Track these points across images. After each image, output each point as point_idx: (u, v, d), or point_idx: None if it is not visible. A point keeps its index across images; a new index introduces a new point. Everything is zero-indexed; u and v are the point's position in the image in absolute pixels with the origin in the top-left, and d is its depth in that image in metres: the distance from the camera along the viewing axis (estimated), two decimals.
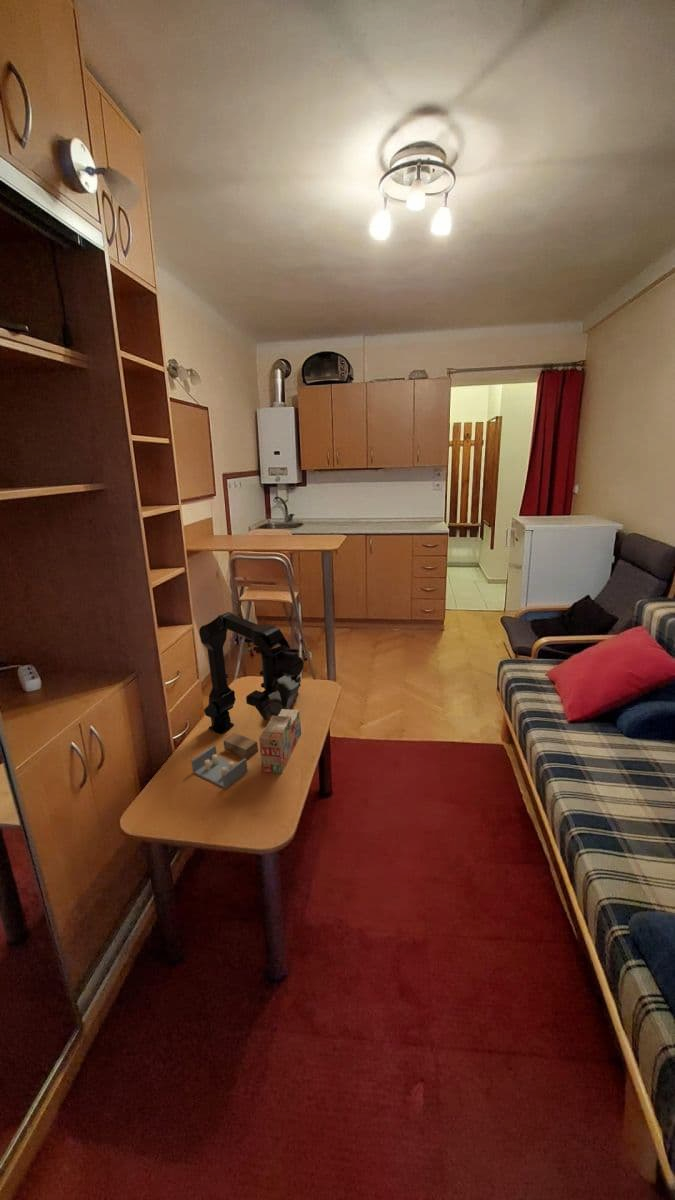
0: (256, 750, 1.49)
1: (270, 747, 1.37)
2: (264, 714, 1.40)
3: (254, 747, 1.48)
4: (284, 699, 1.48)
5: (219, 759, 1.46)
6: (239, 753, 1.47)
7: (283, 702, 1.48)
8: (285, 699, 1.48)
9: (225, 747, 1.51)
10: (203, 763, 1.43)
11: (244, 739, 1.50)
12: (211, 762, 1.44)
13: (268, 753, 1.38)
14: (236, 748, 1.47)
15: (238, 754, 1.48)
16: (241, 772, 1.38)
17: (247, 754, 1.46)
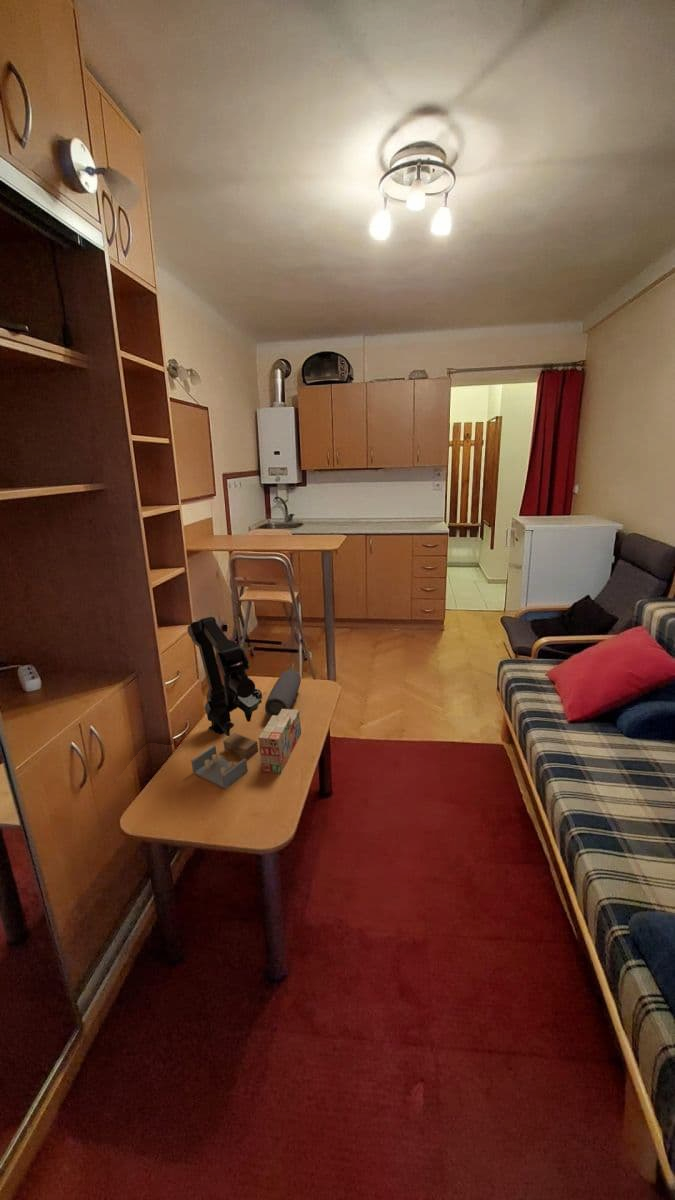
0: (256, 750, 1.49)
1: (269, 747, 1.37)
2: (226, 730, 1.43)
3: (254, 747, 1.48)
4: (248, 714, 1.51)
5: (219, 759, 1.46)
6: (239, 753, 1.47)
7: (247, 717, 1.51)
8: (248, 714, 1.51)
9: (225, 747, 1.50)
10: (203, 763, 1.43)
11: (244, 739, 1.50)
12: (211, 762, 1.44)
13: (267, 753, 1.38)
14: (236, 748, 1.47)
15: (238, 754, 1.48)
16: (241, 772, 1.38)
17: (247, 754, 1.46)
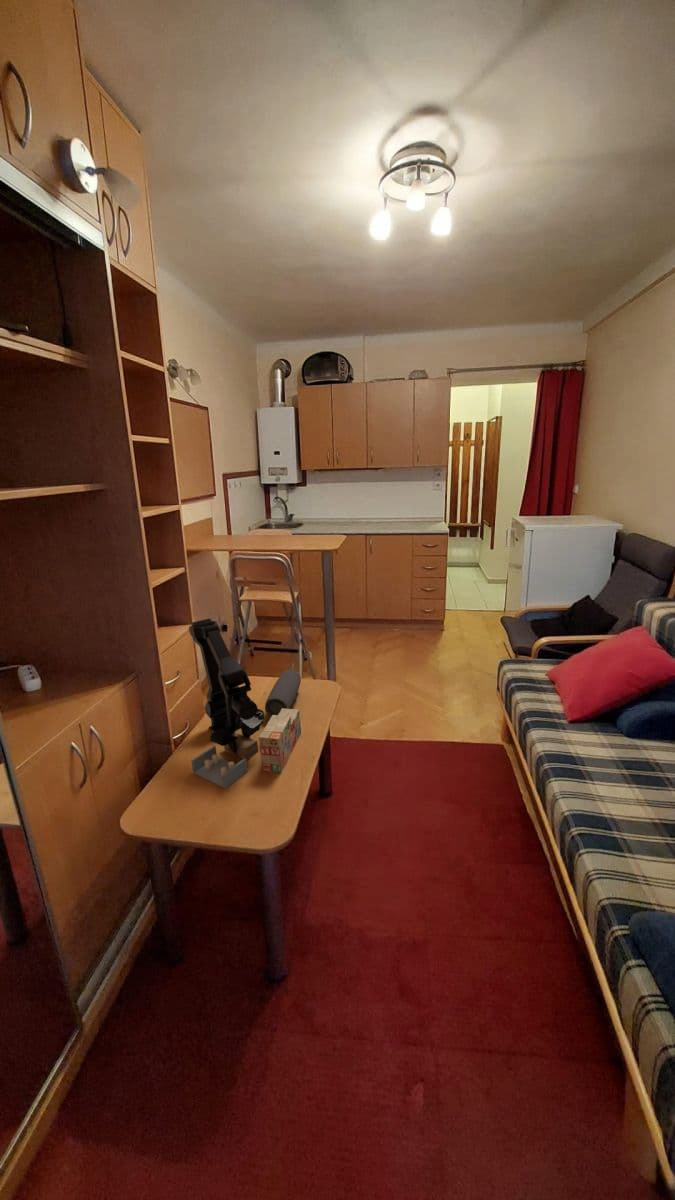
0: (256, 749, 1.49)
1: (270, 747, 1.37)
2: (233, 747, 1.46)
3: (254, 746, 1.48)
4: None
5: (219, 759, 1.46)
6: (239, 752, 1.47)
7: None
8: None
9: (225, 746, 1.50)
10: (203, 763, 1.43)
11: (244, 739, 1.50)
12: (211, 762, 1.44)
13: (268, 752, 1.38)
14: None
15: (238, 753, 1.48)
16: (241, 772, 1.38)
17: (247, 753, 1.46)
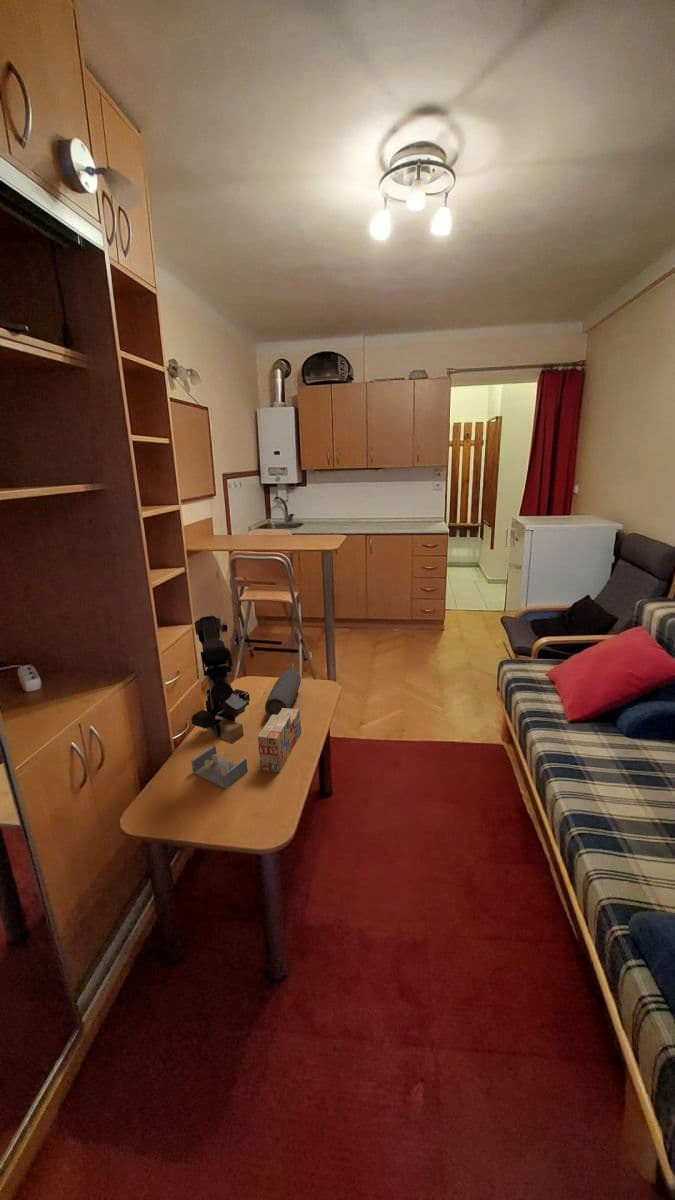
0: (242, 733, 1.40)
1: (268, 746, 1.37)
2: (216, 731, 1.37)
3: (239, 730, 1.38)
4: (231, 720, 1.42)
5: (219, 759, 1.46)
6: (223, 737, 1.38)
7: None
8: None
9: (208, 731, 1.41)
10: (203, 763, 1.43)
11: (229, 722, 1.41)
12: (211, 762, 1.44)
13: (266, 752, 1.38)
14: None
15: (222, 738, 1.38)
16: (241, 772, 1.38)
17: (231, 737, 1.36)
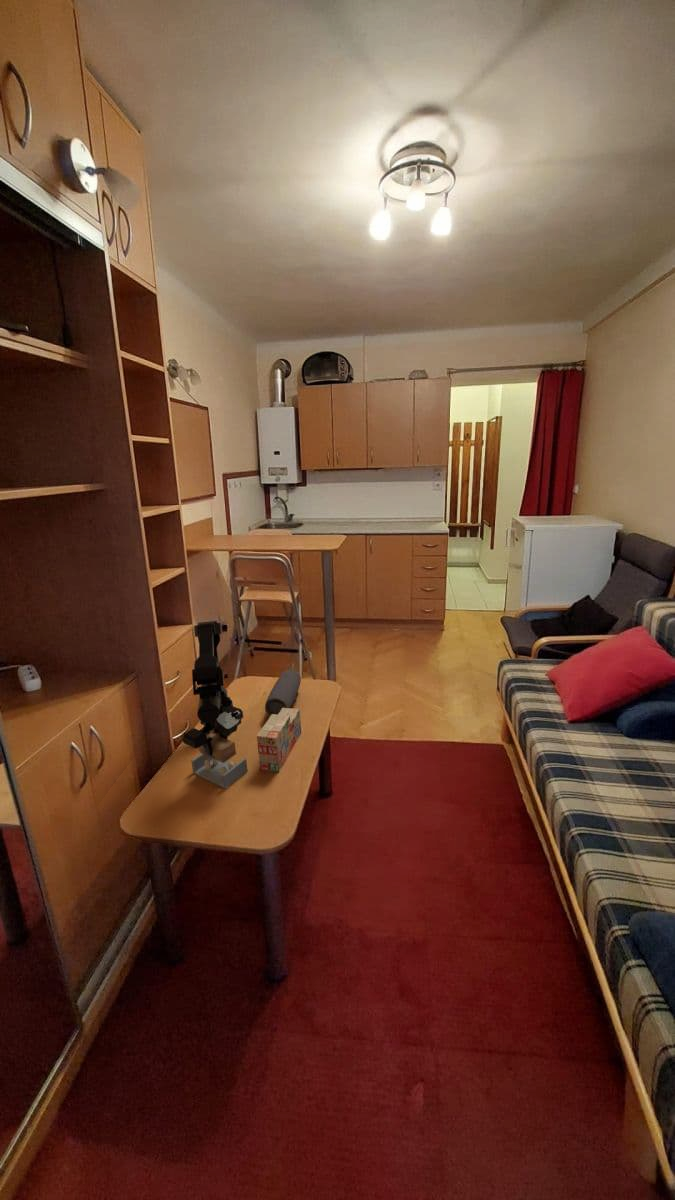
0: (234, 751, 1.38)
1: (267, 746, 1.38)
2: (208, 749, 1.35)
3: (231, 748, 1.36)
4: None
5: None
6: (215, 755, 1.35)
7: None
8: None
9: (200, 748, 1.39)
10: (203, 763, 1.43)
11: (221, 740, 1.38)
12: (211, 762, 1.44)
13: (265, 751, 1.39)
14: None
15: (214, 756, 1.36)
16: (241, 772, 1.38)
17: (223, 756, 1.34)
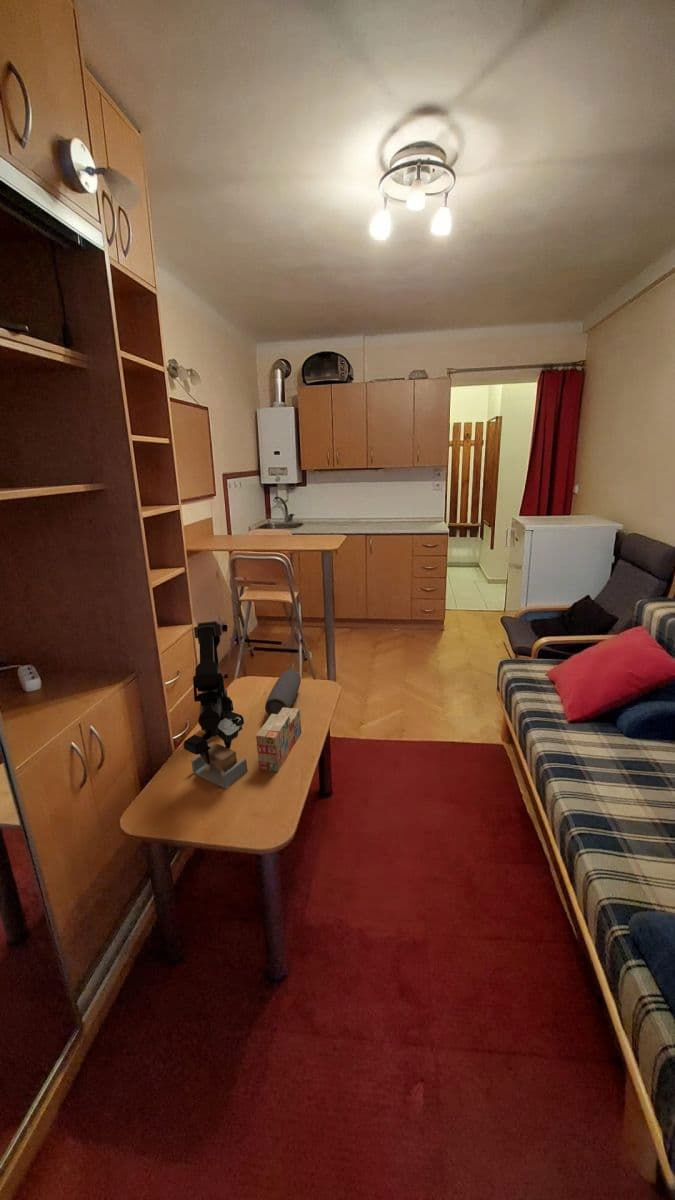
0: (235, 760, 1.38)
1: (266, 745, 1.38)
2: (205, 758, 1.34)
3: (232, 757, 1.37)
4: None
5: None
6: (216, 764, 1.36)
7: (226, 745, 1.42)
8: None
9: None
10: (203, 763, 1.43)
11: (222, 749, 1.39)
12: None
13: (265, 751, 1.39)
14: (212, 758, 1.37)
15: (215, 765, 1.37)
16: (241, 772, 1.38)
17: (224, 765, 1.35)
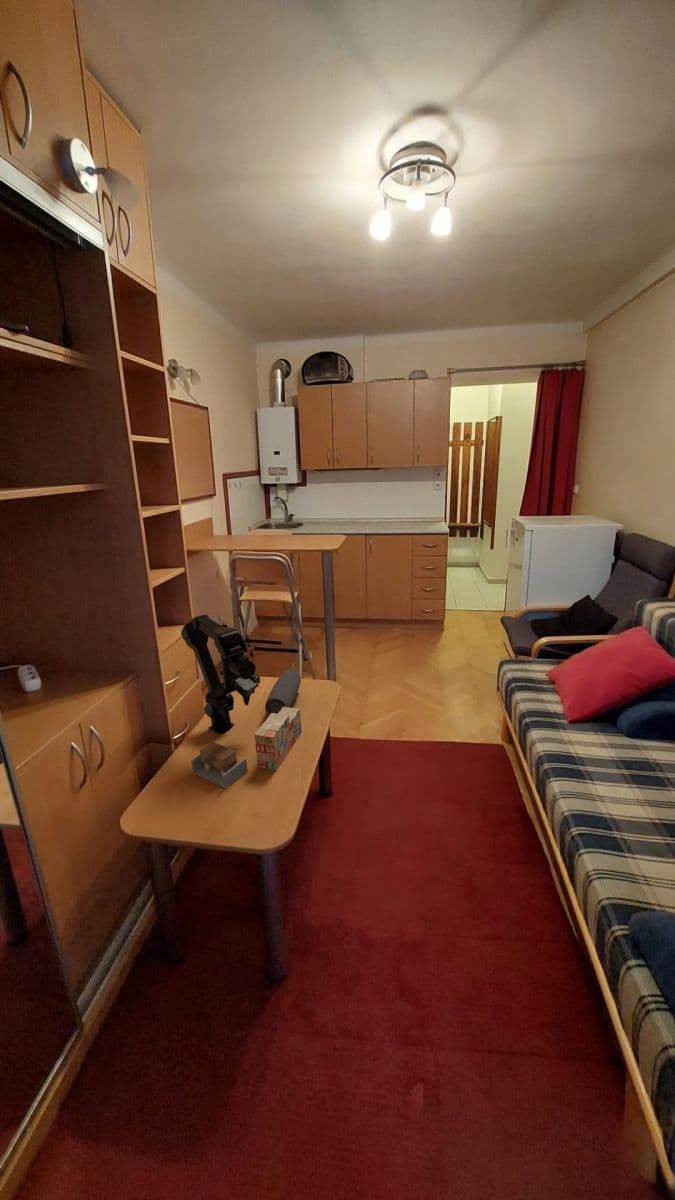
0: (235, 760, 1.38)
1: (265, 745, 1.38)
2: (223, 712, 1.46)
3: (232, 757, 1.37)
4: (246, 698, 1.54)
5: None
6: (216, 764, 1.36)
7: (245, 701, 1.55)
8: (246, 698, 1.54)
9: (202, 757, 1.40)
10: (203, 763, 1.43)
11: (222, 749, 1.39)
12: None
13: (263, 750, 1.39)
14: (212, 758, 1.37)
15: (215, 765, 1.37)
16: (241, 772, 1.38)
17: (224, 765, 1.35)
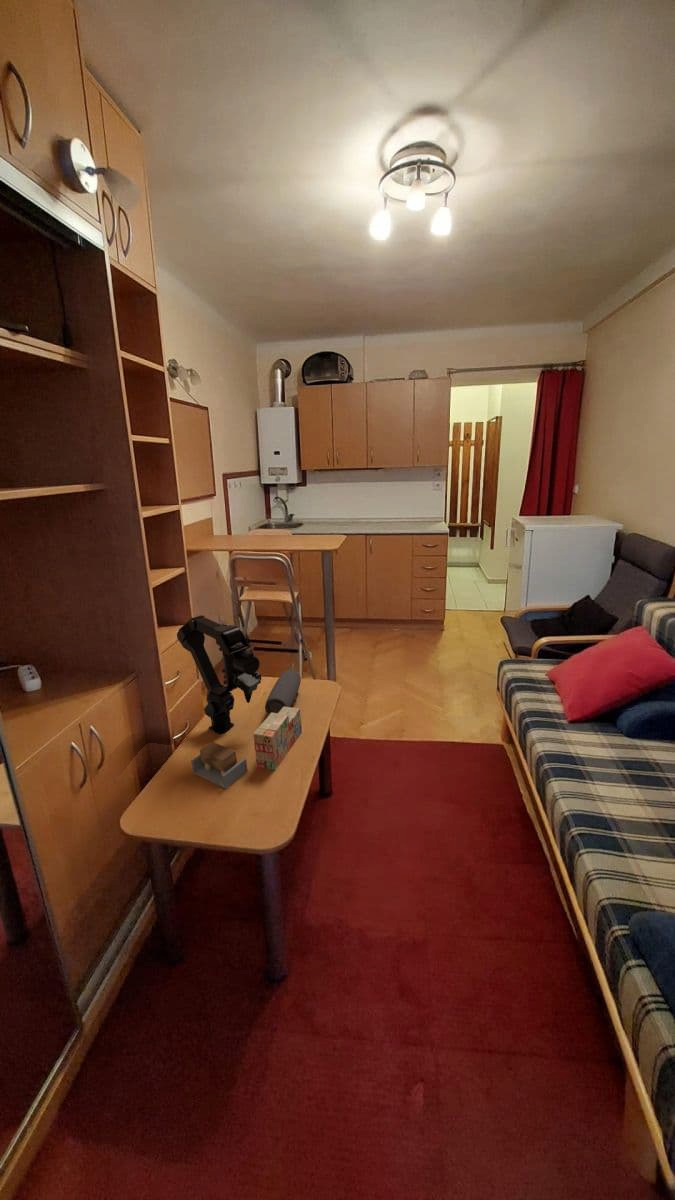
0: (235, 760, 1.38)
1: (264, 744, 1.39)
2: (226, 709, 1.47)
3: (232, 757, 1.37)
4: (248, 695, 1.56)
5: None
6: (216, 764, 1.36)
7: (246, 698, 1.56)
8: (248, 695, 1.55)
9: (202, 757, 1.40)
10: (203, 763, 1.43)
11: (222, 749, 1.39)
12: None
13: (262, 749, 1.40)
14: (212, 758, 1.37)
15: (215, 765, 1.37)
16: (241, 772, 1.38)
17: (224, 765, 1.35)
